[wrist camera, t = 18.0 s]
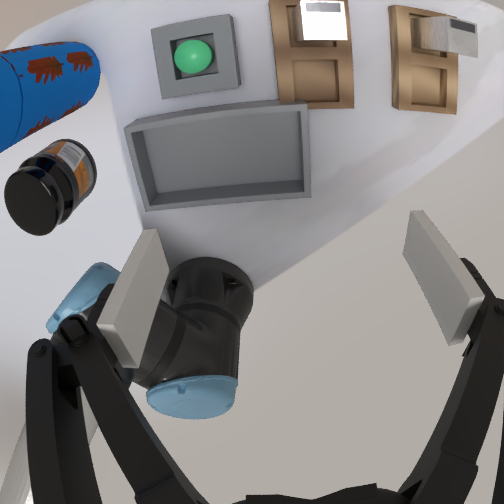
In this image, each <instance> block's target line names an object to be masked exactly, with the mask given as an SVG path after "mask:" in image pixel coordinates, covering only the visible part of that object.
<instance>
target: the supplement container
mask: <svg viewBox="0 0 504 504" xmlns="http://www.w3.org/2000/svg"><path fill="white" fill-rule="evenodd" d="M96 177H97V171H96V165H95V162H94V159H93V157H92V155H91V154H90V152H89V151H88V150H87V148H85V147H84V146H83V145H82V144H81V143H79V142H77V141H74V140H71V139H61V140H58V141H55V142H53V143H51V144H50V145H49V146H48V147H46V148H45V149H43V150H42V151H40V152H39V153H37V154H36V155H34V156H33V157H30V158H28V159H27V160H25V161H24V162H23V163H22V164H21V165H20V167H19V169H18V170H17V171H16V172H15V173H13V174H12V175H11V176H10V177H9V179H8V180H7V182H6V185H5V190H4V198H5V204H6V207H7V210H8V212H9V214H10V216H11V217H12V219H13V220H14V222H15V223H16V224H17V225H18V226H19V227H20V228H21V229H23V230H24V231H26V232H27V233H30V234H32V235H36V236H43V235H47V234H49V233H50V232H51V231H52V230H53V229H54V228H55V227H56V226H57V225H59V224H62V223H63V222H65V221H66V220H67V219H68V217H69V216H70V215H71V213H72V212H73V211H74V210H75V209H76V207H77V206H78V205H79V204H80V203H81V202H82V201H83V200H84V199H85V198H86V197H87V196H88V195H89V194H90V193H91V191H92V190H93V188H94V186H95V183H96Z"/></svg>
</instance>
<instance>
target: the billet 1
mask: <svg viewBox="0 0 504 504" xmlns="http://www.w3.org/2000/svg"><path fill="white" fill-rule="evenodd" d="M291 14H292V23H293V33H294V42H328V41H341V40H347V30H346V19H345V8H344V2H343V1H300V2H299V3H298V4H297V6H296V7H295V8H294V9H293V11H292V12H291Z"/></svg>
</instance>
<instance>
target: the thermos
mask: <svg viewBox="0 0 504 504" xmlns="http://www.w3.org/2000/svg"><path fill="white" fill-rule="evenodd" d="M100 73H101V72H100V66H99V60H98V59H97V57H96V55H95V53H94V51H93V50H92V49H90V48H89V47H88V46H86V45H85V44H82V43H77V42H56V43H48V44H40V45H34V46H28V47H22V48H16V49H11V50H6V51H2V52H0V153H1V152H3V151H4V150H6V149H8V148H9V147H11V146H12V145H14V144H16V143H17V142H19V141H21V140H22V139H24V138H26V137H28V136H29V135H31V134H33V133H35V132H36V131H38V130H40V129H42V128H44V127H46V126H47V125H49V124H51V123H53V122H55V121H57V120H59V119H61V118H63V117H64V116H66V115H68V114H70V113H72V112H74V111H76V110H77V109H79V108H81V107H82V106H84V105H86V104H87V103H88V101H89V100H90V99H91V98H92V97H93V96H94V94H95V92H96V90H97V88H98V85H99V80H100Z"/></svg>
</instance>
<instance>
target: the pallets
mask: <svg viewBox="0 0 504 504" xmlns="http://www.w3.org/2000/svg"><path fill="white" fill-rule="evenodd" d="M300 1H343V2H344V8H345V19H346V30H347V40H341V41H328V42H294V33H293V23H292V14H291V12H292V11H293V9H294V8H295V7H296V6H297V4H298V3H299V2H300ZM269 9H270V17H271V26H272V35H273V44H274V53H275V63H276V73H277V84H278V94H279V101H280V103H283V102H295V99H304V101H305V102H306V103H307V108H308V109H335V108H354V83H353V60H352V44H351V30H350V19H349V8H348V0H269ZM388 11H389V23H390V38H391V60H392V106H393V107H395V108H397V109H398V110H411V111H424V112H436V113H446V114H454V115H456V111H457V94H458V54H453V53H447V52H440V51H433V50H427V49H420V48H413V47H411V32H410V19H413V18H424V17H439V16H449V17H453V18H457V17H454V16H450V15H446V14H442V13H437V12H433V11H428V10H423V9H418V8H412V7H406V6H400V5H393V6H389V7H388Z"/></svg>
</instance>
